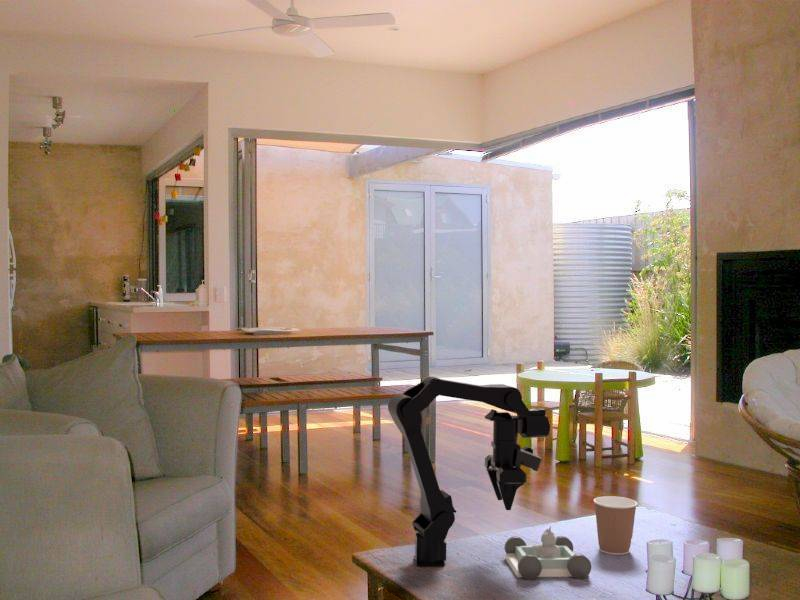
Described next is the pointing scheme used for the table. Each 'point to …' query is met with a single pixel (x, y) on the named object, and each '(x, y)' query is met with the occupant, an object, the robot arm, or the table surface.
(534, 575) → the toy chassis
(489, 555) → the table surface
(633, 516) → the coffee cup
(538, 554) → the white figurine
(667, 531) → the table surface
